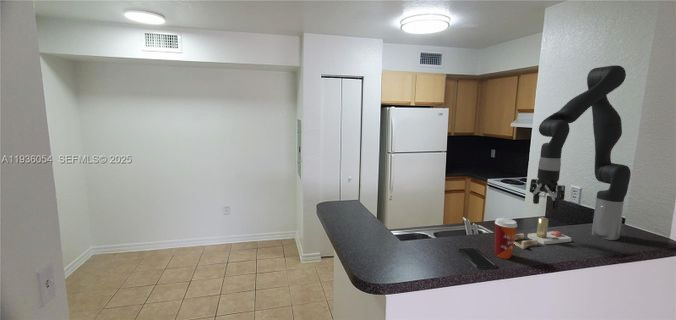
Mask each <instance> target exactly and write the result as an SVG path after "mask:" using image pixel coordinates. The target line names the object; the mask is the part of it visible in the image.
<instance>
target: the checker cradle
mask: <svg viewBox="0 0 676 320" xmlns="http://www.w3.org/2000/svg"><path fill="white" fill-rule="evenodd" d="M553 231H554V230H553ZM553 231H552V230H551V231H547V237H546V238H539V237H537V236H536V235H537V232H532V233H527V238H528V239H529V240H535V239H536V240H538V244H542V245H552V244H553V245H554V244H561V243H568V242H572V237H570V236H567V235H565V234H563V233H562V236H561V237H556V236H554V235H553Z"/></svg>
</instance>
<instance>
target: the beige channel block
mask: <svg viewBox="0 0 676 320" xmlns="http://www.w3.org/2000/svg"><path fill="white" fill-rule="evenodd" d="M518 240H521V243H520V242H519V241H518ZM514 244H515V246H517V247H518V248H521V249H522V250H525V249H526V248H527V249H530V247H533V246H538V244H539V242H538V240H536V239H535V240H532V239H527V240H525V234H524V233H515V239H514Z"/></svg>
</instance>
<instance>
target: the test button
mask: <svg viewBox="0 0 676 320" xmlns="http://www.w3.org/2000/svg"><path fill="white" fill-rule="evenodd" d="M562 234H563V232H562V231H559V230H553V235H554V236H556V237H561V236H562Z"/></svg>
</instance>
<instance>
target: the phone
mask: <svg viewBox="0 0 676 320" xmlns="http://www.w3.org/2000/svg"><path fill="white" fill-rule="evenodd" d="M458 252H459V253H460V255H461V256H463V258H465V259H466V260H467V261H468V262H469V263H470V264H471V265H472V266H473V267H474V268H476V269H479V270H481V269H485V270H486V269H487V270H488V269H497V267H498V264H496V263H495V262H494V261H492V260H491V259H490V258H489V257H488V256H486V255H485V254H484V253H482V252H481V251H480V250H479V249H478V248H473V247H471V248H458Z"/></svg>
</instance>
